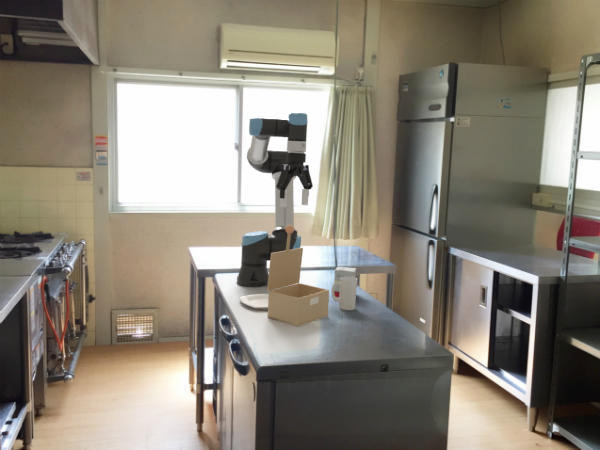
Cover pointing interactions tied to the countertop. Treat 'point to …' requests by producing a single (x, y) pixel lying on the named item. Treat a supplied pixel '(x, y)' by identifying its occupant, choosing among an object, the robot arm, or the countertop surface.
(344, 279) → the mug
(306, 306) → the carton
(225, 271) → the countertop surface
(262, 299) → the plate
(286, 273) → the flap
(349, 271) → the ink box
